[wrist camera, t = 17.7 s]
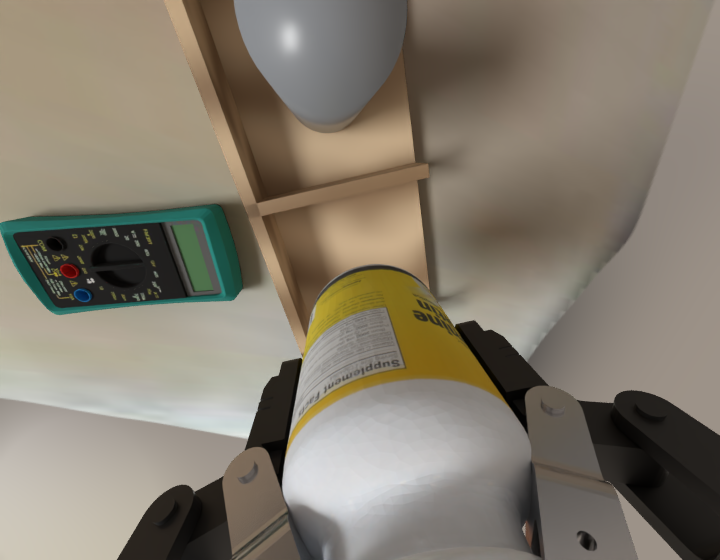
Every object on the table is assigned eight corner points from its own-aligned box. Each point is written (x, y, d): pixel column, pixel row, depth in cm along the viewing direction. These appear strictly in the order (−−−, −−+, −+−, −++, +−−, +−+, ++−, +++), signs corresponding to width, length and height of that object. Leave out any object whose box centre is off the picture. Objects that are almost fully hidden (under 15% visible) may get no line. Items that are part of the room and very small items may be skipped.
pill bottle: (434, 353, 16) (629, 750, 5) (324, 372, 16) (299, 811, 5) (429, 247, 13) (823, 638, 2) (296, 270, 13) (126, 764, 2)
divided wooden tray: (184, -14, 15) (138, -66, 12) (385, -64, 15) (400, -132, 12) (308, 331, 26) (304, 360, 22) (428, 304, 26) (443, 329, 22)
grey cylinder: (268, 53, 16) (195, -78, 7) (348, 23, 16) (380, -153, 7) (302, 144, 18) (281, 133, 9) (373, 118, 18) (422, 81, 9)
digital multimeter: (22, 215, 20) (-27, 225, 17) (226, 202, 21) (210, 209, 18) (72, 301, 23) (37, 321, 21) (248, 287, 24) (237, 304, 21)
